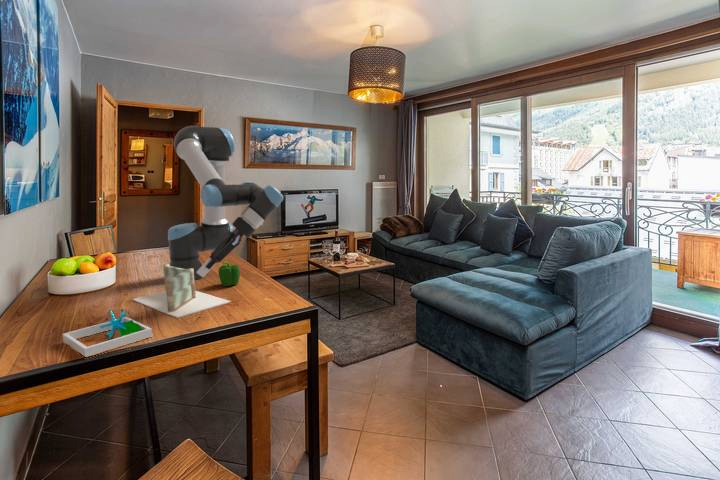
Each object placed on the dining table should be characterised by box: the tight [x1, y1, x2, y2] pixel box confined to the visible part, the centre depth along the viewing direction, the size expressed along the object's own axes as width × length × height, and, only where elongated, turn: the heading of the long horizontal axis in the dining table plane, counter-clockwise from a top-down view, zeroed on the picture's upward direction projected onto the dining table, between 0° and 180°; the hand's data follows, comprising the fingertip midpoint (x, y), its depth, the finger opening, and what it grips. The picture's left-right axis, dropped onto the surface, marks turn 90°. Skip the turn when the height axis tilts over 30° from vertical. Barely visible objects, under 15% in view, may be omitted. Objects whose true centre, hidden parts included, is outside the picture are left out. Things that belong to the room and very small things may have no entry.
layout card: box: [132, 290, 231, 319], centre depth 136 cm, size 31×19×1 cm, turn 53°
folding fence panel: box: [164, 270, 192, 311], centre depth 130 cm, size 14×2×10 cm, turn 178°
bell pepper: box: [218, 261, 241, 287], centre depth 156 cm, size 8×8×10 cm
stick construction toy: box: [100, 309, 141, 339], centre depth 107 cm, size 12×7×8 cm
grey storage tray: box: [62, 316, 153, 357], centre depth 103 cm, size 16×16×2 cm
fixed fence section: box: [163, 263, 196, 298], centre depth 142 cm, size 17×2×10 cm, turn 58°
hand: (199, 274), depth 130 cm, fingers closed
